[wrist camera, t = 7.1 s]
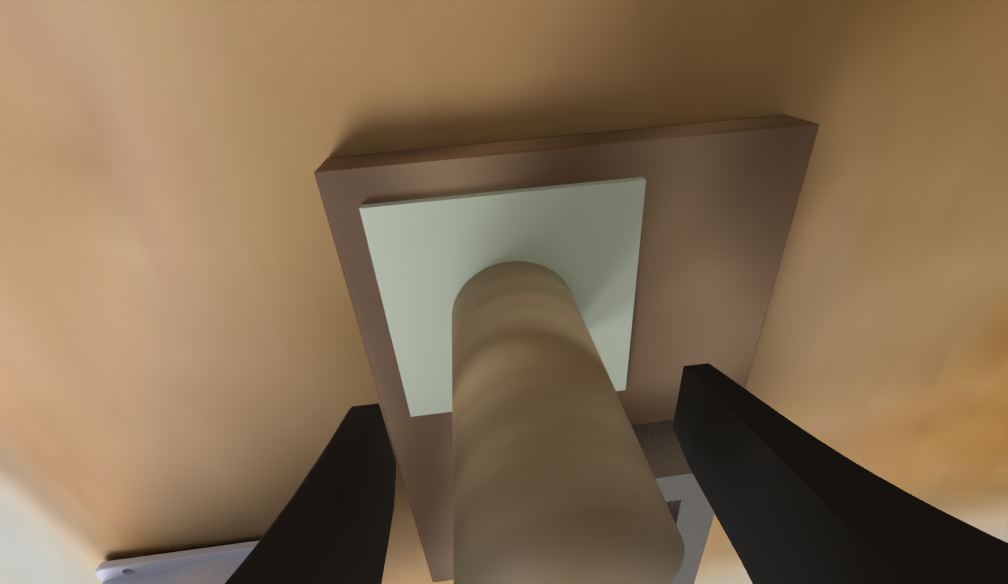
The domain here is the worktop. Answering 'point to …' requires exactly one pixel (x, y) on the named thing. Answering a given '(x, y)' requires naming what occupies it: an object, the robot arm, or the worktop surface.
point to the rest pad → (498, 239)
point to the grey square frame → (677, 492)
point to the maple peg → (546, 446)
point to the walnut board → (660, 274)
